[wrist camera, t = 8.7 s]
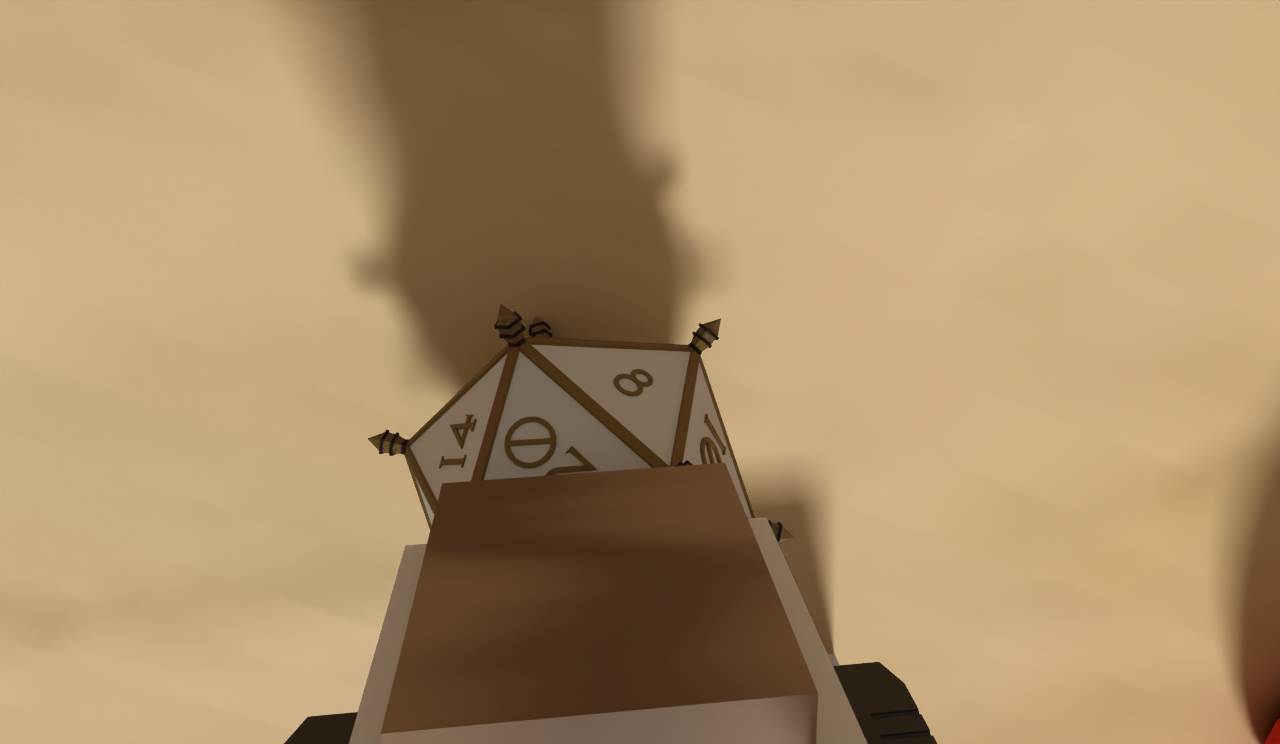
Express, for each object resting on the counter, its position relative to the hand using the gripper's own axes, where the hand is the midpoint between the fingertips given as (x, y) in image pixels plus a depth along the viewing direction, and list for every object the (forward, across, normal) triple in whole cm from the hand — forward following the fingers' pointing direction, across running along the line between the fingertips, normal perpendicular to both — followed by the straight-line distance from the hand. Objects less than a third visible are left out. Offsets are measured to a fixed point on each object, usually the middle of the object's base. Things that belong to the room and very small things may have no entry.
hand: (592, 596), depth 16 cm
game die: (+8, 0, 0) cm, 8 cm away
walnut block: (0, 0, 0) cm, 0 cm away
